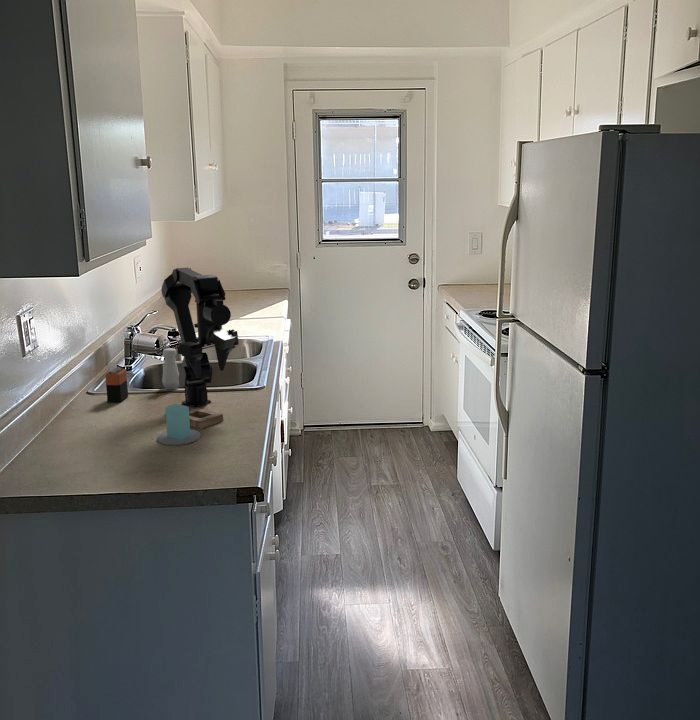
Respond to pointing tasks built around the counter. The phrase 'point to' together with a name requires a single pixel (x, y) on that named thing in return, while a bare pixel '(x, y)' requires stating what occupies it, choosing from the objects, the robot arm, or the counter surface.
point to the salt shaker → (170, 369)
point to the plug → (177, 421)
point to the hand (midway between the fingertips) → (210, 373)
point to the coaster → (173, 441)
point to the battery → (116, 385)
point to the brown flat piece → (204, 417)
